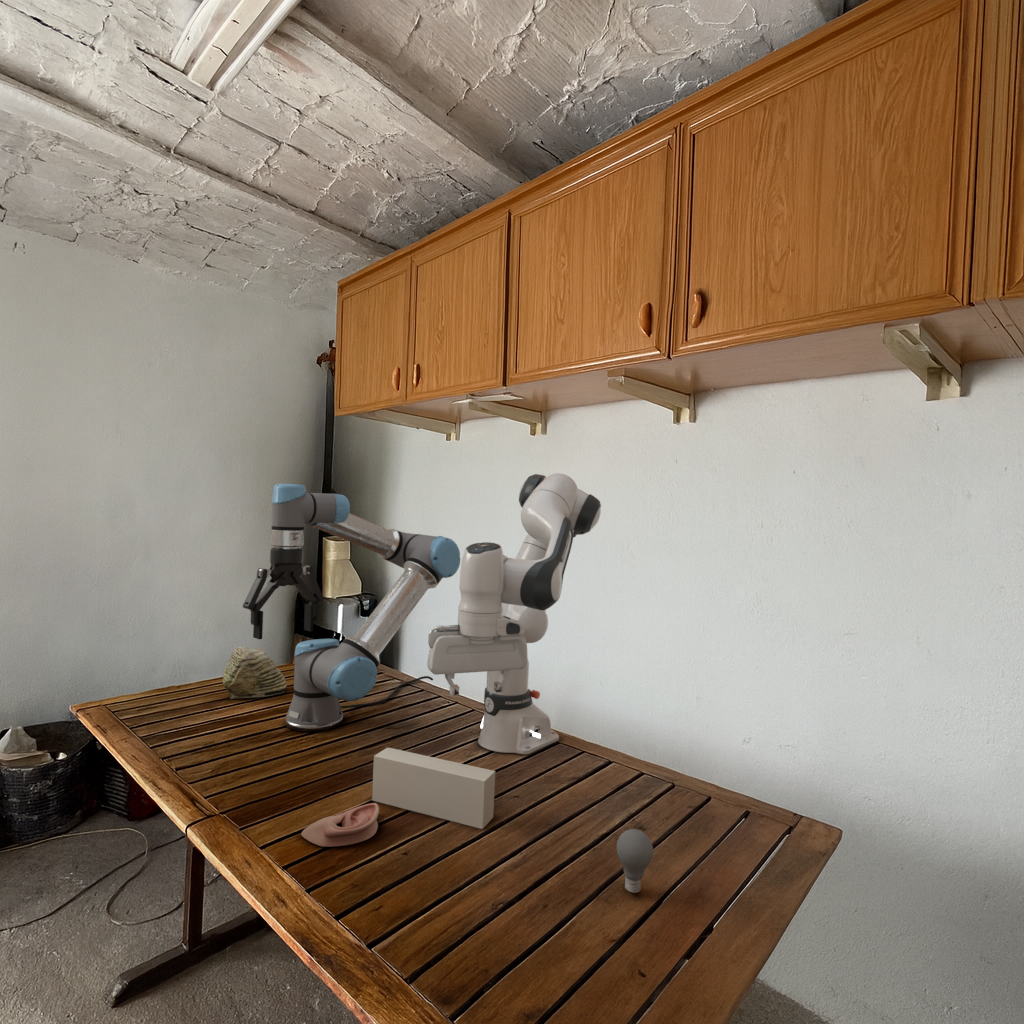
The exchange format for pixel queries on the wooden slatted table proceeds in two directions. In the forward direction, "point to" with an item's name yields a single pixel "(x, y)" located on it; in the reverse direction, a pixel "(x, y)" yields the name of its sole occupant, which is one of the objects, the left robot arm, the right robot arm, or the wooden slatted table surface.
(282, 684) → the fossil
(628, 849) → the light bulb
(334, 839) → the anatomical model
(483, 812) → the bar
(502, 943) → the wooden slatted table surface
